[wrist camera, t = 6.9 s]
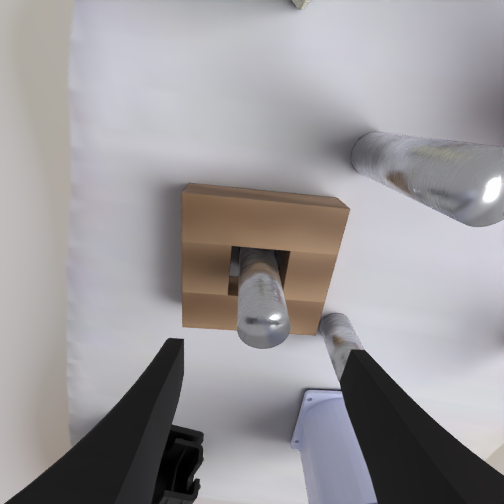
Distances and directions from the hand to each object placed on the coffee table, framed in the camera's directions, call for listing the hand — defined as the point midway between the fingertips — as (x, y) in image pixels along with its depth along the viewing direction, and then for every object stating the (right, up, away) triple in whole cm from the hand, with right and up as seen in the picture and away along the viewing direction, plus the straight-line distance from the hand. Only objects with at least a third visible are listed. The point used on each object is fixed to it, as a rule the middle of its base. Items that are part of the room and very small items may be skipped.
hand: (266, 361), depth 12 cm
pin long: (+7, +11, +6) cm, 14 cm away
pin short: (+7, -2, +12) cm, 14 cm away
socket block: (0, +4, +9) cm, 10 cm away
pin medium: (0, +4, +9) cm, 10 cm away
